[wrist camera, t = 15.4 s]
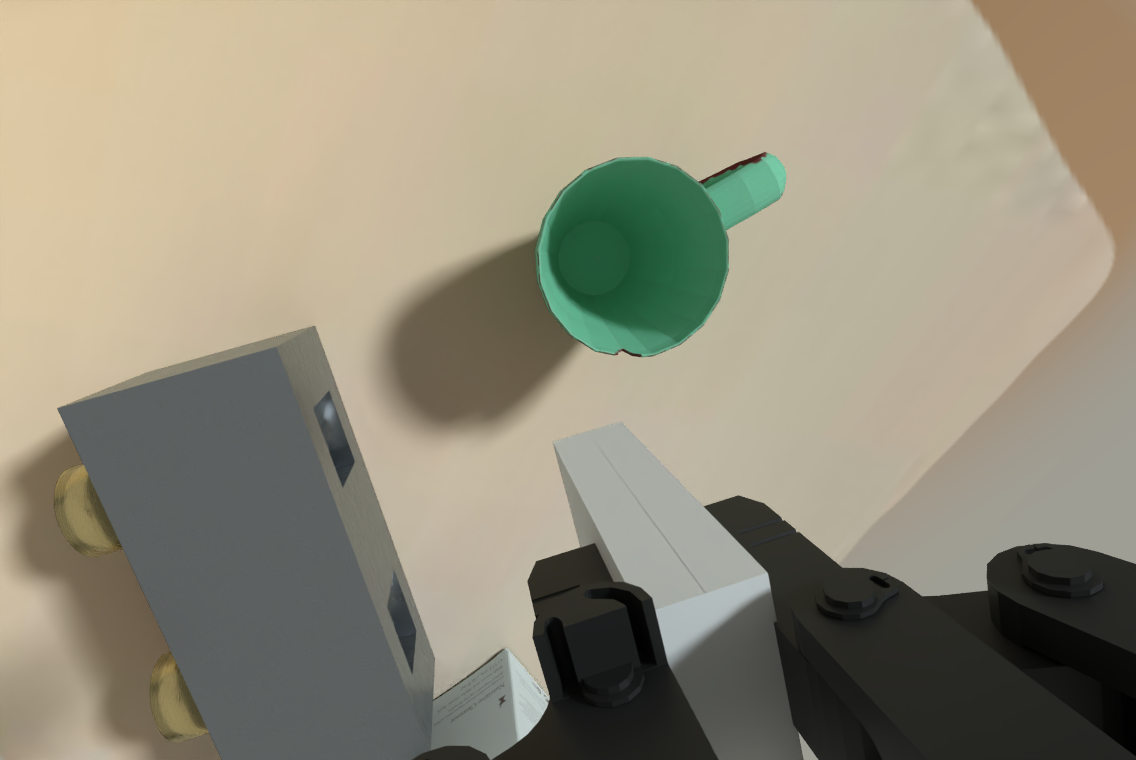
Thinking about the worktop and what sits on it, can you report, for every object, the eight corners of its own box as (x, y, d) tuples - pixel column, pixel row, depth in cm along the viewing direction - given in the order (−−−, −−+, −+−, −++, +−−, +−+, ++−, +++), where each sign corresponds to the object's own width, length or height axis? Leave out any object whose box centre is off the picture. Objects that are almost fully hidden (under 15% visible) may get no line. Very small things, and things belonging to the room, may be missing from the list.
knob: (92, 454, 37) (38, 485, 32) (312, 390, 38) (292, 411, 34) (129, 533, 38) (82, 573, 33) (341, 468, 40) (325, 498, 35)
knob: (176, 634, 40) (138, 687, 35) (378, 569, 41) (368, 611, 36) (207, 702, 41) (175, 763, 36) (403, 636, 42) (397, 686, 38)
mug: (565, 362, 43) (599, 395, 33) (487, 228, 40) (498, 221, 31) (753, 248, 44) (840, 247, 34) (687, 110, 41) (760, 66, 31)
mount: (145, 372, 39) (57, 408, 30) (314, 325, 40) (276, 346, 31) (290, 708, 44) (250, 820, 35) (434, 658, 45) (430, 755, 37)
